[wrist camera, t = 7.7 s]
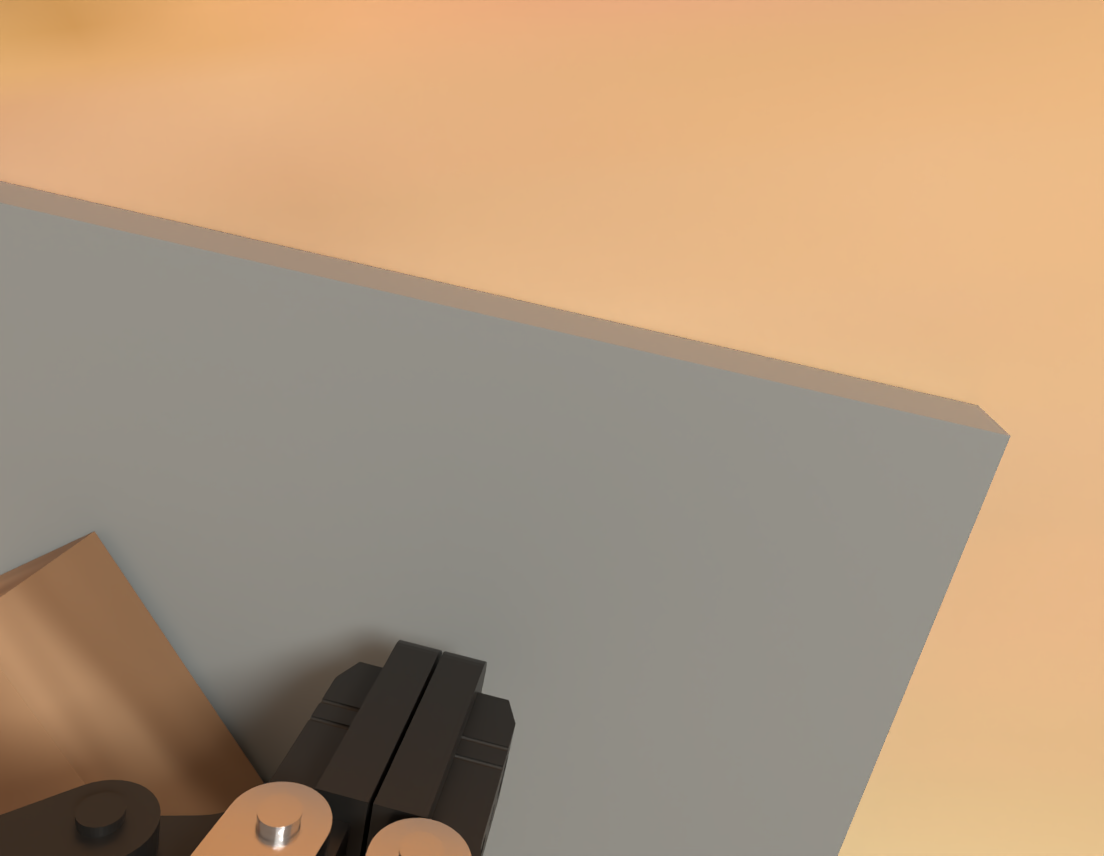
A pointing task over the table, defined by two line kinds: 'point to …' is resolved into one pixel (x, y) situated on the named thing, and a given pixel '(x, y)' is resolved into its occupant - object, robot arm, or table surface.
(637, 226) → the table surface
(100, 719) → the square frame with handle
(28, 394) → the jig deck
